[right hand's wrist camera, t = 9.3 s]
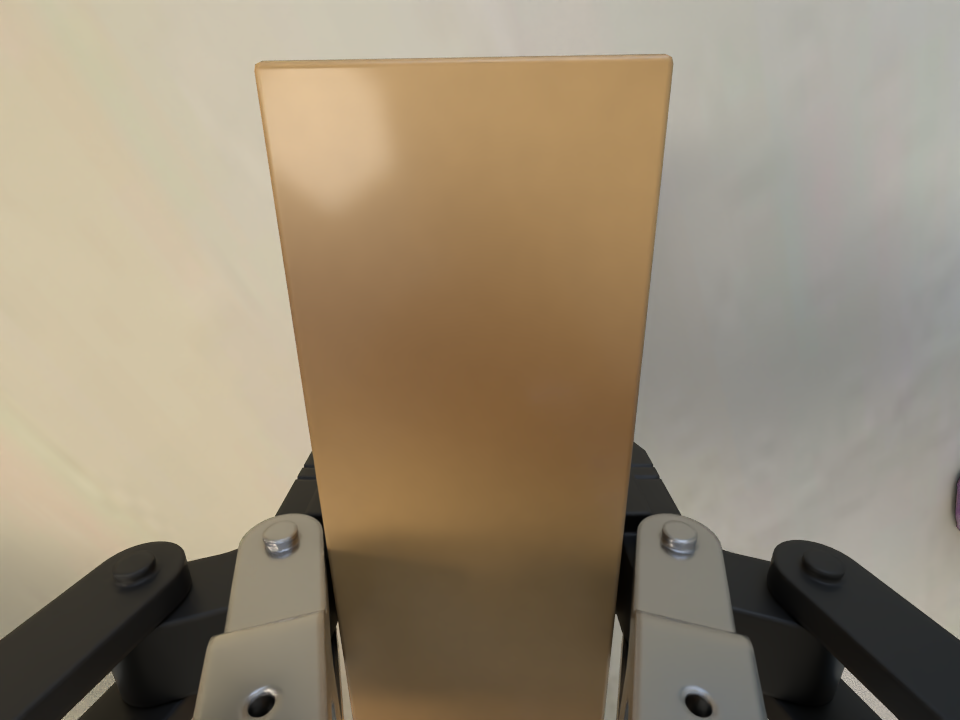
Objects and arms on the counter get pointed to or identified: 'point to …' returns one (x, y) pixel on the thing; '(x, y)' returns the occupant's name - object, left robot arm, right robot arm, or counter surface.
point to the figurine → (958, 505)
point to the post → (470, 360)
